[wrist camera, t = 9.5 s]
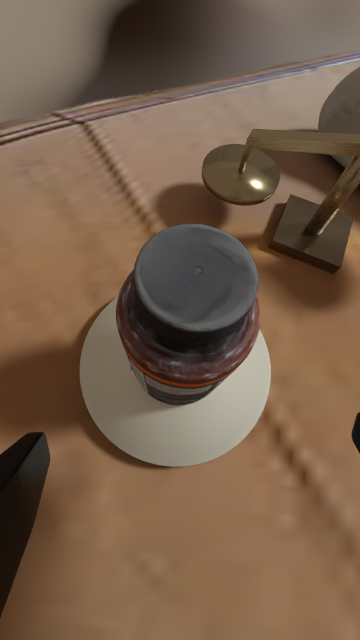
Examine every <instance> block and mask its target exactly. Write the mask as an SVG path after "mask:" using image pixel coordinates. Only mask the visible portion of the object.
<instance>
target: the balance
mask: <svg viewBox="0 0 360 640" xmlns="http://www.w3.org/2000/svg"><path fill="white" fill-rule="evenodd" d="M258 149H267V150H280V151H293V152H306V153H319V154H332V155H345V156H354V157H353V158H352V160H351V161H350V163H349V164H348V166H347V167H346V168H345V170H344V171H343V173H342V174H341V176H340V177H339V179H338V180H337V182H336V183H335V185H334V186H333V188H332V189H331V191H330V192H329V193H328V195H327V196H326V198H325V199H324V201H323V202H322V204H321V205H318V204H316V203H313V202H310V201H308V200H305V199H302V198H299V197H297V196H294V195H290V197H289V199H288V201H287V202H286V205H285V207H284V210H283V212H282V215H281V217H280V220H279V222H278V225H277V227H276V230H275V232H274V235H273V237H272V240H271V242H270V245H269V247H268V248H271V249H273V250H276V251H278V252H281V253H283V254H286V255H288V256H291V257H293V258H296V259H298V260H301V261H303V262H306V263H308V264H311V265H313V266H316V267H318V268H321V269H324V270H326V271H329V272H331V273H335V272H336V271H337V270H338V269H340V268H341V265H342V261H343V257H344V253H345V249H346V245H347V241H348V237H349V233H350V229H351V225H352V221H353V217H351V216H348V215H345V214H343V213H340V212H338V211H339V209H340V208H341V207H342V205H343V204H344V203H345V202H346V200H347V199H348V198H349V196H350V195H351V194H352V193H353V191H354V190H355V189H356V187H357V186H358V185H359V184H360V134H341V133H323V132H304V131H285V130H266V129H253V130H252V131H251V133H250V135H249V137H248V138H247V142H246V145H241V144H229V145H223V146H220V147H217V148H215V149H213V150H212V151H211V152H210V153H208V154H207V156H206V157H205V159H204V162H203V166H202V179H203V182H204V184H205V186H206V188H207V189H208V190H209V191H210V192H211V193H212V194H213V195H215V196H216V197H217V198H219V199H221V200H223V201H225V202H228V203H231V204H235V205H246V206H247V205H255V204H259V203H262V202H264V201H266V200H267V199H269V198H270V197H271V196H272V195H273V194H274V192H275V190H276V188H277V186H278V183H279V180H280V173H279V169H278V167H277V165H276V163H275V162H274V161H273V160H272V159H271V158H270V157H269V156H268V155H267V154H265V153H264V152H262V151H260V150H258Z"/></svg>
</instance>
